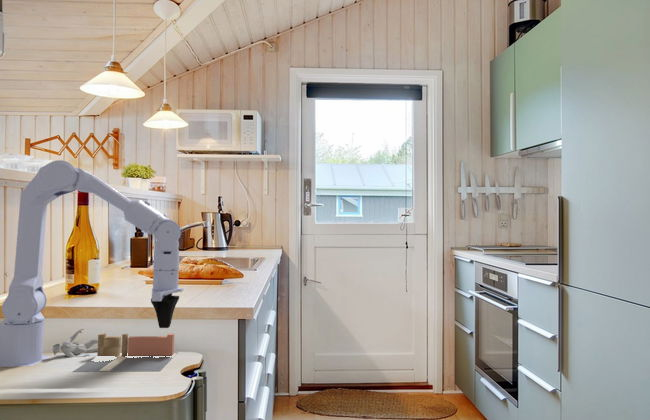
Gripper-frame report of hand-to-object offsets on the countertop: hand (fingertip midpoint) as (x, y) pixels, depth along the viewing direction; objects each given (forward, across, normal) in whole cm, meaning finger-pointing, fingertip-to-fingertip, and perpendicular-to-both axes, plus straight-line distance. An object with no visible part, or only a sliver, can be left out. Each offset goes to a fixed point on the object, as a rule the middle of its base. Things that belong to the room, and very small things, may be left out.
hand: (164, 327), depth 105 cm
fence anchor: (+5, -6, +10) cm, 13 cm away
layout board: (+6, -10, +5) cm, 12 cm away
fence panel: (+5, -5, +1) cm, 8 cm away
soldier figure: (+6, -2, +17) cm, 19 cm away
